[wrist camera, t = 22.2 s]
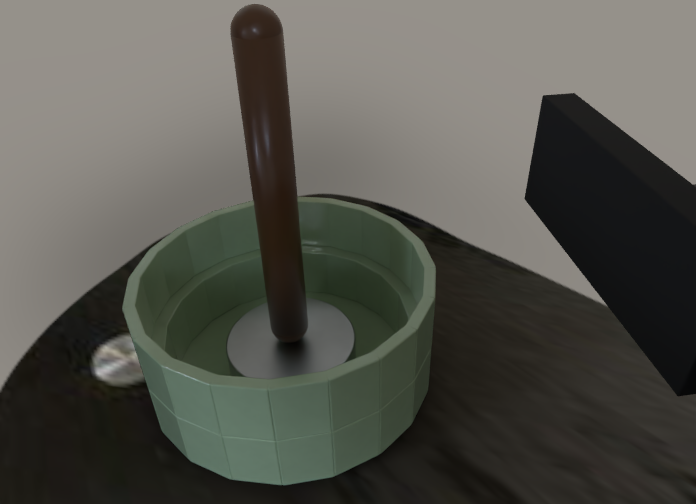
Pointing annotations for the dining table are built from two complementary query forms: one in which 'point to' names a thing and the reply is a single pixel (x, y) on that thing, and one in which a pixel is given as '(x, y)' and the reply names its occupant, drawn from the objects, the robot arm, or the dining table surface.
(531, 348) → the dining table surface
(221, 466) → the bowl
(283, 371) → the wooden peg on disc
